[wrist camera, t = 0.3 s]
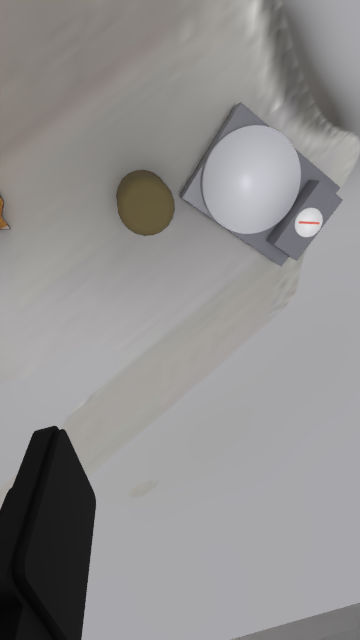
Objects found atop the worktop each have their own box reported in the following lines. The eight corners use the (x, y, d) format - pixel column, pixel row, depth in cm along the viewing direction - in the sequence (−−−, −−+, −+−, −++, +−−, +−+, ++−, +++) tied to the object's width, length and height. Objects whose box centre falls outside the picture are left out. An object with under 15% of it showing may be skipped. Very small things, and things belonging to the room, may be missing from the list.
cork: (117, 167, 38) (112, 166, 28) (170, 173, 39) (185, 174, 29) (115, 222, 40) (110, 240, 30) (166, 227, 41) (177, 245, 31)
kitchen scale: (179, 196, 40) (186, 200, 35) (234, 106, 37) (250, 97, 32) (273, 261, 45) (291, 272, 40) (329, 186, 42) (355, 188, 37)
